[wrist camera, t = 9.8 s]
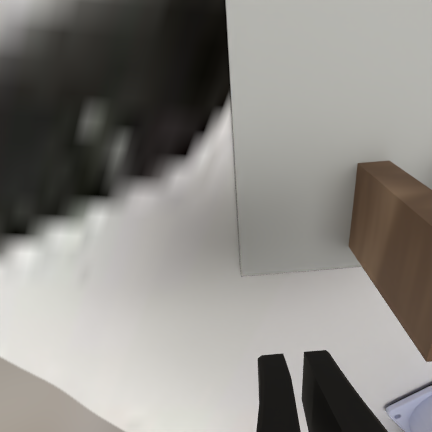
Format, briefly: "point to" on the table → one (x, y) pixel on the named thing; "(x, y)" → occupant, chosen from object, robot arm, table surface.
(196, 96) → the table surface
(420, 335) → the domino
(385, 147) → the grey mat
